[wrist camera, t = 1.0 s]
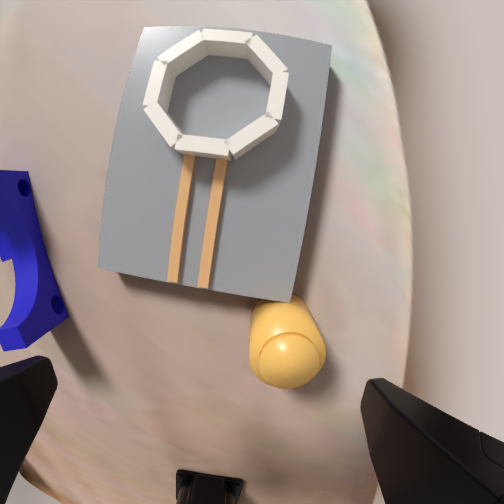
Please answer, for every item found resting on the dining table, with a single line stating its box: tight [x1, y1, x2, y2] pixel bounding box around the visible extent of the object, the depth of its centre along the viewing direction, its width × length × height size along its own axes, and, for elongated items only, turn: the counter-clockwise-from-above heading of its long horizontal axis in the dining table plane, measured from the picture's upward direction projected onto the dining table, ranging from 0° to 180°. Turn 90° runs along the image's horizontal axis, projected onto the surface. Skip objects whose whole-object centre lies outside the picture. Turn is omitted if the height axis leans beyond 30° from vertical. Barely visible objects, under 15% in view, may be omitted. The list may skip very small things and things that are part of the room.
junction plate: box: [98, 26, 332, 303], centre depth 16 cm, size 16×12×4 cm
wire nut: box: [249, 294, 326, 389], centre depth 17 cm, size 4×4×6 cm
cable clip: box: [0, 170, 69, 351], centre depth 16 cm, size 12×4×6 cm, turn 16°
